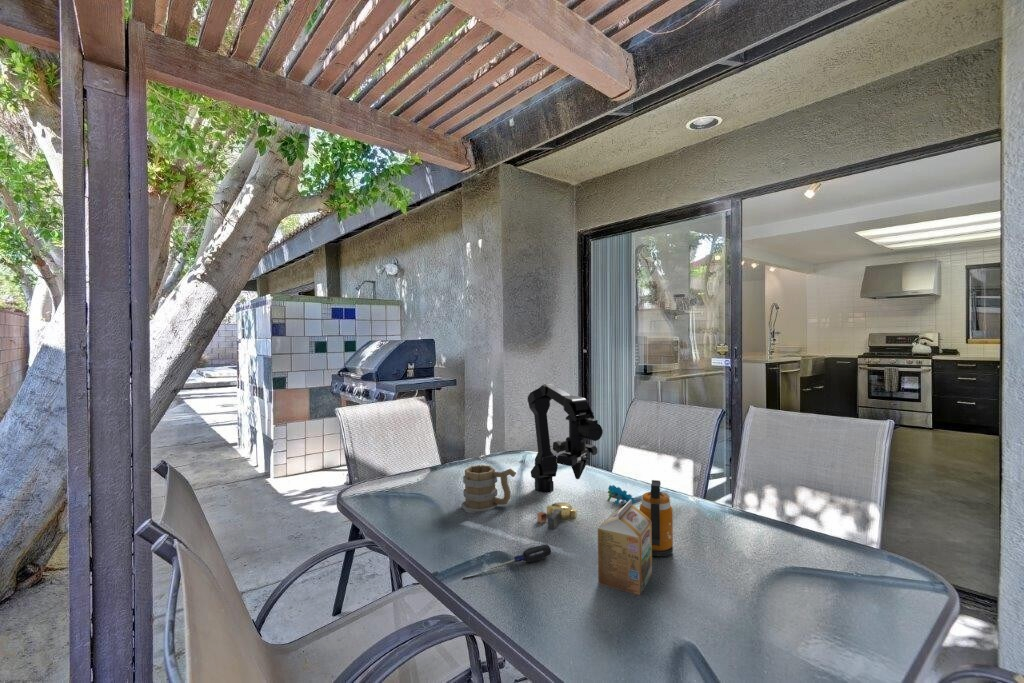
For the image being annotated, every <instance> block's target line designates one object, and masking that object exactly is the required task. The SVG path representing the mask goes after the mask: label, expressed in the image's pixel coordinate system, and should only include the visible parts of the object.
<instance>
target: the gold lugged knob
mask: <svg viewBox="0 0 1024 683" xmlns="http://www.w3.org/2000/svg"><path fill="white" fill-rule="evenodd" d="M577 512H578V508H577V509H576V508H573V505H572V504H571V503H567V502H555V503H552V504H551V505H550V504H549V505H547V506H546V515H549V516H548V518H547V529H549V530H555V529H556V528H557V527H558V525H559V524H560V523H561V521H564V520H568V519H576V518H577V517H578V513H577Z"/></svg>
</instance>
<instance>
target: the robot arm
mask: <svg viewBox="0 0 1024 683" xmlns="http://www.w3.org/2000/svg"><path fill="white" fill-rule="evenodd" d="M551 401H555V402H556V403H558V404H559V405H561V406H562V407H563V410H564V412H565V413H566V414H567V416H566V417H565V420H566V421H568V436H567V437H566V438H565V440H563V441H560V440H557V441H553V442H552V449H551V441H550V440H551V439H550V430H549V422H548V421H549V420H548V411H549V409H550V407H551ZM527 403H528V406H529V407H528V408H529V410H530V411H531V413H532V414H533V416H534V426H535V434H536V435H535V436H536V442H537V443H536V444H537V453H536V456H535V458H534V466H533V467H532V468H531V470H530V477H531V478H532V479H534V490H536V492H539V493H551V492H553V491H554V488H555V486H554V481H553V478H554V477H556V476H557V471H558V466H559V465H563V466H567V467H571V469H572V471H573V472H572V473H573V474H574V478H575V480H580V479H581V476H582V474H583V472H584V470H585V468H586V466H587V464H588V463H589V462H588V461H590V457H587V455H586V454H589V453H590V454H591V455H592V456H595V455H598V447H597V446H596V445H593V444H588V443H587V441H589V440H590V441H593V442H597V441H599V440H600V439H601V438H602V437H603V433H604V432H603V428H602V426H601V425H600V424H599V423H598V419H596V418H595V415H594V412H593V411H592V408H591V406H590V404H589V402H588V400H587V399H586V398H585V397H582V396H579V395H578V396H577V395H572V394H569V393H568V392H566V391H565V390H563V389H561V388H560V387H558V386H557V385H556V384H554V383H545V384H544V383H543V384H542V385H540V387H538V388H536V389H534V390H533V391H531V392H530V393H529V394H528V395H527ZM552 450H553V451H554V452H556V453H557V454H558V453H560V452H562V453H560V454H558V455H556V454H554V453H553V452H552Z"/></svg>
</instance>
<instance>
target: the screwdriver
mask: <svg viewBox="0 0 1024 683" xmlns="http://www.w3.org/2000/svg"><path fill="white" fill-rule="evenodd" d="M551 553H552V550H551V546H550V545H549V544H548V543H547V544H546V543H545V544H541V545H537V546H533V547H528V548H526V549H525V550H524V551H523V552H522V554H520V555H515V556H513V559H512V560H511V559H510V560H509V561H506V562H502V563H500V564H497V565H494V566H491V567H488V568H486V569H485V570H488V569H493V568H496V569H498V568H501V567H504V566H506V565H507V566H508V565H509V564H510V565H511V564H512V563H519V562H525V561H526V562H525V563H527V562H532V563H535V562H537V561H539V560H543V559H544V558H547V557H549V556H550V555H551ZM534 561H535V562H534ZM497 567H498V568H497ZM493 570H494V569H493Z"/></svg>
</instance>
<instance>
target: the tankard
mask: <svg viewBox="0 0 1024 683" xmlns="http://www.w3.org/2000/svg"><path fill="white" fill-rule="evenodd" d="M516 474H517V472H516V471H514V470H513V469H512V468H508V469H505V470H503V471H496V469H495V468H494V467H493V466H492V465H485V464H478V465H470V466H469V467H467V468H465V469H464V476H463V477H462V483H463V484H464V489H463V491H462V492H463V494H462V495H463V497H464V498H465V501H463V502H462V503H461V508H462V509H463V511H464V512H465V513H466V512H467V513H466V514H471V513H473V514H474V513H476V512H478V513H479V512H486V511H491V510H494V509H496V507H497V506H501V505H502V506H503V505H504V506H505V505H507V504H508V503H509V501H510V499H511V494H512V493H511V491H512V490H511V489H510V486H509V483H508V476H511V477H512V478H515V476H516ZM498 478H500V484H501V488H502V489H503V492H504V493H503V498H500V497H497V496H498V489H497V488H496V483H497V482H498Z"/></svg>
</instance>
